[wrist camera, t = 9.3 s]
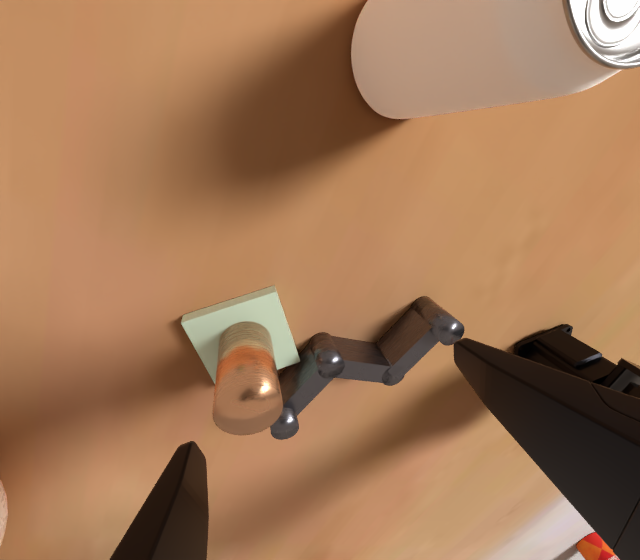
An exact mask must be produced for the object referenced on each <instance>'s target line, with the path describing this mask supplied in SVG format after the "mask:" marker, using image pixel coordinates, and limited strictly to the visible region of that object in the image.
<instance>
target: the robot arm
mask: <svg viewBox="0 0 640 560" xmlns="http://www.w3.org/2000/svg"><path fill="white" fill-rule="evenodd" d="M572 329H573V327H572V326H570V325H568V324H565V325H562V326H560V327H557V328H555V329H552V330H550V331H547V332H544V333H542V334H539V335H537V336H534V337H532V338H529V339H527V340H524V341H521V342H519V343H518V344H516V346H515V352H514V354H511V353H508V352H505V351H502V350H499V349H497V348H494V347H491V346H488V345H485V344H483V343H480V342H477V341H474V340H471V339H468V338H463V339H460V340H457V341H455V342H454V361H455V363H456V365H457V367H458V368H459V370H460V371H461V372H462V374H463V375H464V377H465V378H466V379H467V381H468V382H469V384H470V385H471V386H472V388H473V389H474V391H475V392H476V393H477V395H478V396H479V398H480V399H481V400H482V402H483V403H484V404H485V405H486V407H487V408H488V409H489V410H490V411H491V413H492V414H493V415H494V416H495V417H496V418H497V419H498V421H499V422H500V423H501V424H502V425H503V426H504V427H505V429H506V430H507V431H508V432H509V433H510V434H511V435H512V437H513V438H514V439H515V440H516V441H517V442H518V443H519V445H520V446H521V447H522V448H523V449H524V450H525V451H526V453H527V454H528V455H529V456H530V457H531V458H532V459H533V461H534V462H535V463H536V464H537V465H538V466H539V467H540V469H541V470H542V471H543V472H544V473H545V474H546V476H547V477H548V478H549V479H550V480H551V481H552V482H553V484H554V485H555V486H556V487H557V488H558V489H559V490H560V492H561V493H562V494H563V495H564V496H565V497H566V498H567V500H568V501H569V502H570V503H571V504H572V505H573V506H574V508H575V509H576V510H577V511H578V512H579V513H580V514H581V516H582V517H583V518H584V519H585V520H586V521H587V522H588V524H589V525H590V526H591V527H592V528H593V529H594V530H595V532H596V533H597V534H598V535H599V536H600V537H601V538H602V540H603V541H604V542H605V543H606V544H607V545H608V547H609V548H610V549H612V550H613V553H614V554H615V555H616V556H617V557H618V558H619V559H620V560H640V366H638V365H636V364H634V363H631V362H629V361H627V360H624V359H622V358H621V359H620V361H619V362H618V365H616V364H614V363H612V362H610V361H609V360H607V359H605V358H604V357H602V354H601V353H600V352H598V351H597V350H595V349H593V348H591V347H590V346H588V345H586V344H584V343H583V342H581V341H579V340H577V339H576V338H574V337H572V336H571V333H572ZM208 520H209V513H208V489H207V468H206V459H205V456H204V455H203V453H202V452H201V450H200V449H199V447H198V446H197V444H196V443H195V442H194V441H190V442H188V443H185V444H182V445H180V446H179V447H178V448H177V450H176V452H175V453H174V455H173V457H172V458H171V460H170V461H169V463H168V465H167V466H166V468H165V470H164V471H163V473H162V475H161V476H160V478H159V479H158V481H157V483H156V484H155V486H154V488H153V489H152V491H151V493H150V494H149V496H148V497H147V499H146V501H145V502H144V504H143V506H142V507H141V509H140V511H139V512H138V514H137V515H136V517H135V519H134V520H133V522H132V524H131V525H130V527H129V529H128V530H127V532H126V533H125V535H124V537H123V538H122V540H121V542H120V543H119V545H118V547H117V548H116V550H115V551H114V553H113V555H112V556H111V558H110V560H206V559H207V541H208Z"/></svg>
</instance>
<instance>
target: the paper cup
mask: <svg viewBox="0 0 640 560" xmlns="http://www.w3.org/2000/svg"><path fill="white" fill-rule="evenodd" d="M576 547H577V549H578V550H579V552H580V553H581V554H582V556H583V557H584V558H585V560H620V559H619V558H618V557H617V556H616V555H615V554H614V553H613V550H612V549H610V548H609V547H608V545H607V544H606V543H605V542H604V541H603V540H602V538H601V537H600V536H599V535H598V534H597V533H596V532H594V533H591V534H589V535H587V536H585V537H584V538H583V539H581V540H580V541H579V542H578V544H577V545H576Z"/></svg>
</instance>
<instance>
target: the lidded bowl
mask: <svg viewBox="0 0 640 560" xmlns="http://www.w3.org/2000/svg"><path fill="white" fill-rule="evenodd" d="M7 517H8V507H7V495H6V492H5V490H4V487H3V484H2V482H1V480H0V546H1V543H2V540H3V538H4V533H5V529H6V524H7Z"/></svg>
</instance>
